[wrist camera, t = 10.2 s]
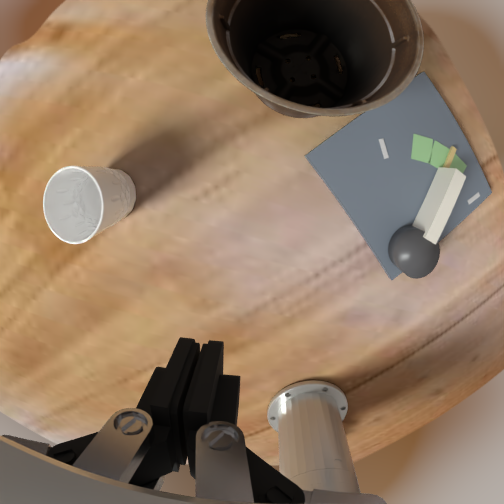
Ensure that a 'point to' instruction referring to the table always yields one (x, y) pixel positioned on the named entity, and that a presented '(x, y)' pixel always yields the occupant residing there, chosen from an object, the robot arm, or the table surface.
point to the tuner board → (397, 165)
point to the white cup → (87, 201)
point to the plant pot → (319, 51)
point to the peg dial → (427, 224)
